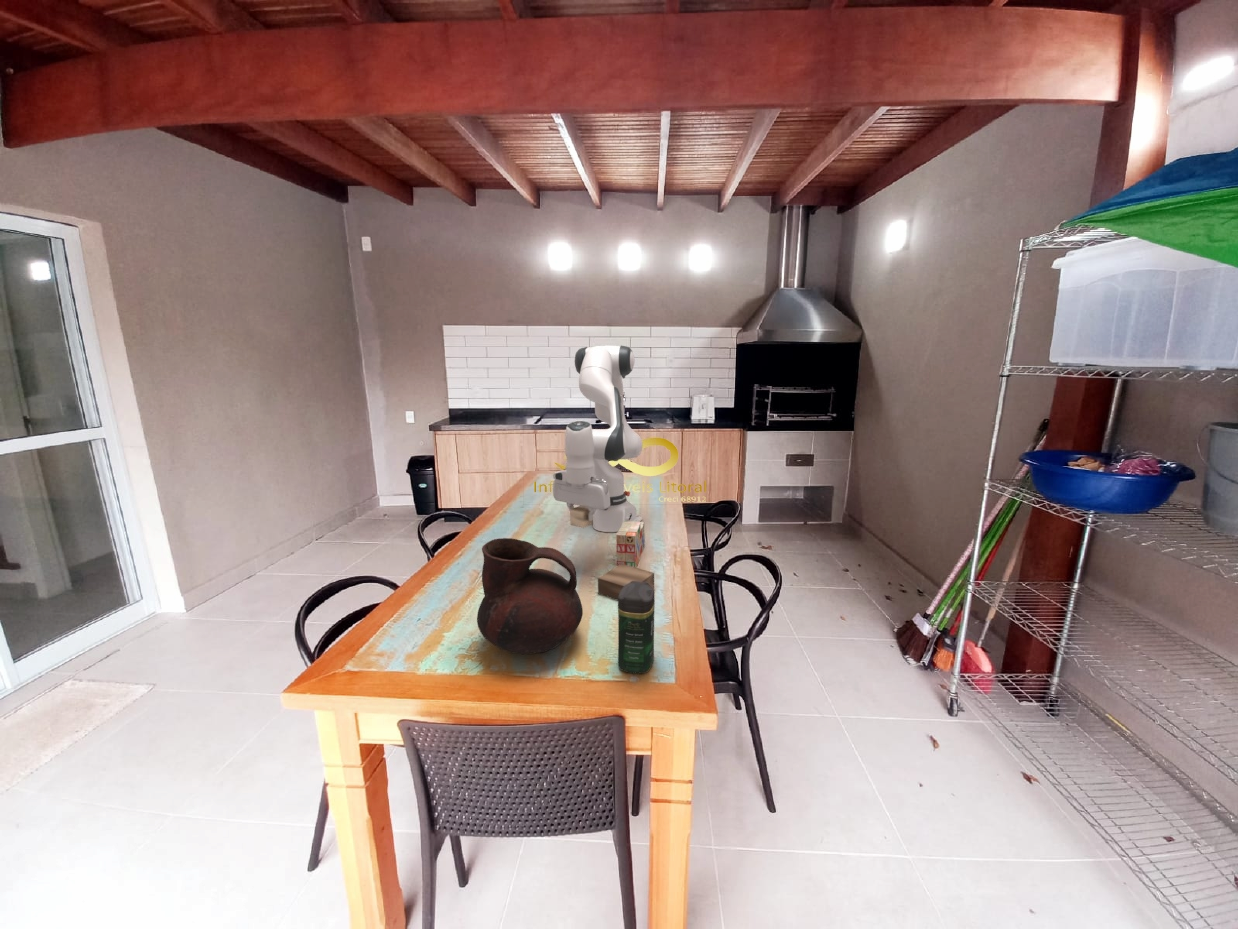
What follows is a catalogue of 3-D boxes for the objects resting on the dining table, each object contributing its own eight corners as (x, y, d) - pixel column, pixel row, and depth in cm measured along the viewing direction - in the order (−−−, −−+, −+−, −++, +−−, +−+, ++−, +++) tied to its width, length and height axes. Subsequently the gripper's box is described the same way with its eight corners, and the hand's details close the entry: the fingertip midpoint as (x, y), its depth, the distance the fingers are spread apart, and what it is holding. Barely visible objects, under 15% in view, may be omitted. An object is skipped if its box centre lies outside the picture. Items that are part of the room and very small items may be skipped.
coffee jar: (650, 678, 106) (650, 600, 102) (615, 673, 108) (613, 596, 104) (657, 652, 115) (657, 579, 111) (624, 648, 117) (623, 576, 113)
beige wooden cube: (580, 520, 156) (580, 505, 155) (593, 523, 154) (592, 508, 152) (570, 525, 152) (570, 509, 151) (583, 528, 150) (582, 512, 148)
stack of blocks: (627, 544, 180) (627, 513, 177) (644, 545, 179) (644, 513, 176) (616, 569, 160) (616, 534, 157) (635, 571, 158) (635, 535, 156)
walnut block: (621, 578, 153) (621, 563, 152) (654, 588, 146) (654, 572, 145) (598, 593, 144) (597, 578, 142) (632, 605, 137) (632, 588, 136)
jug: (568, 678, 106) (563, 572, 101) (460, 666, 111) (451, 564, 105) (593, 618, 130) (591, 529, 125) (504, 610, 135) (498, 524, 129)
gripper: (614, 477, 146) (614, 521, 149) (562, 469, 157) (564, 509, 161) (601, 482, 141) (602, 527, 144) (548, 473, 152) (550, 515, 156)
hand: (581, 518), depth 152 cm, fingers closed on beige wooden cube, 5 cm apart
